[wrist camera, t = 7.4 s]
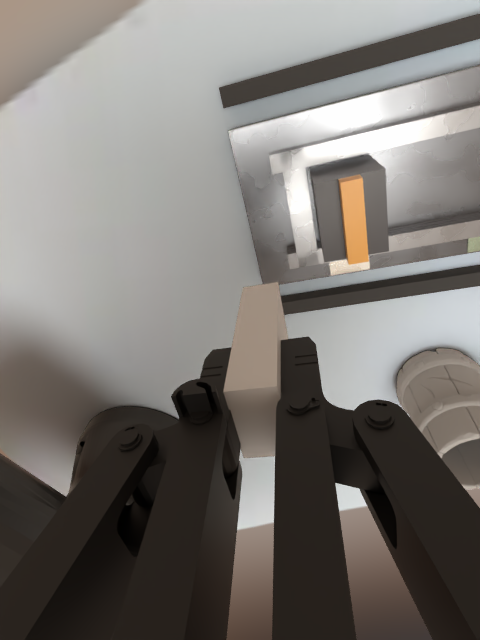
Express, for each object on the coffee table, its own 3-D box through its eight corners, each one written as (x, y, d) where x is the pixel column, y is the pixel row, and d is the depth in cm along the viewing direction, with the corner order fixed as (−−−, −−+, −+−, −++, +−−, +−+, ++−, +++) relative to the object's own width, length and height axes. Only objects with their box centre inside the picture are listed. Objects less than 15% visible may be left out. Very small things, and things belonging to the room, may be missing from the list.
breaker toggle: (319, 236, 29) (325, 268, 24) (309, 168, 27) (314, 188, 22) (373, 226, 28) (392, 257, 23) (369, 154, 26) (389, 172, 21)
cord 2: (226, 107, 27) (223, 108, 26) (221, 87, 26) (219, 87, 25) (634, -4, 22) (652, -9, 21) (641, -32, 21) (659, -38, 20)
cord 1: (271, 309, 35) (271, 316, 34) (269, 298, 34) (268, 305, 33) (576, 263, 30) (586, 269, 29) (579, 248, 29) (590, 255, 28)
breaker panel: (264, 279, 33) (262, 296, 31) (231, 129, 27) (224, 133, 25) (585, 224, 28) (615, 239, 26) (628, 26, 22) (674, 18, 20)
